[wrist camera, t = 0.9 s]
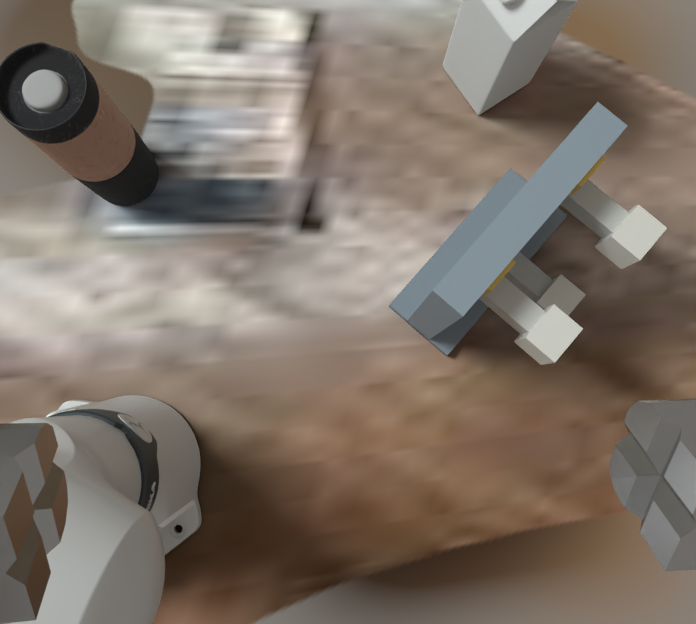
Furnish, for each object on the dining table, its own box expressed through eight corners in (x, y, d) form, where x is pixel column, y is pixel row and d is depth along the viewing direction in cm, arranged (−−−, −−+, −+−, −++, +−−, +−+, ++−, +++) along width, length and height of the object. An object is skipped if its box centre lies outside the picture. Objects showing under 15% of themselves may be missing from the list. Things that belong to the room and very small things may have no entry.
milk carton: (493, 34, 72) (546, -95, 53) (529, 83, 71) (596, -29, 53) (441, 66, 72) (476, -52, 53) (477, 116, 71) (526, 15, 52)
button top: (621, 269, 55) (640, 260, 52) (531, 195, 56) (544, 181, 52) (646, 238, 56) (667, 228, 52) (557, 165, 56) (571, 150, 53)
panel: (445, 356, 67) (488, 338, 47) (388, 306, 68) (407, 268, 48) (564, 218, 69) (653, 146, 50) (507, 171, 70) (572, 81, 50)
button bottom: (549, 327, 63) (561, 323, 59) (471, 261, 64) (479, 253, 60) (572, 300, 63) (586, 294, 60) (494, 235, 64) (503, 225, 61)
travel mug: (108, 220, 69) (13, 148, 49) (79, 159, 70) (-25, 65, 50) (172, 189, 69) (104, 106, 50) (143, 129, 70) (65, 24, 51)
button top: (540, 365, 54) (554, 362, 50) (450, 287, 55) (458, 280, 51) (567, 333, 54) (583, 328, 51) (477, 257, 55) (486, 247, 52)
